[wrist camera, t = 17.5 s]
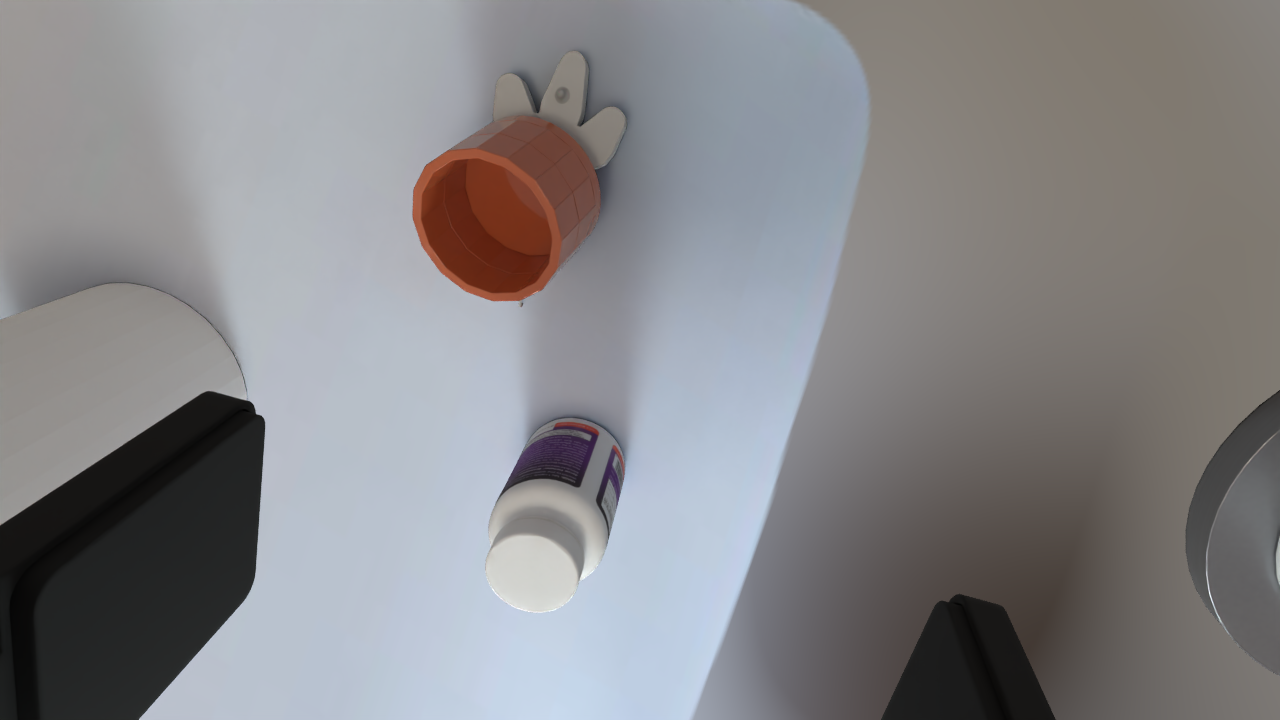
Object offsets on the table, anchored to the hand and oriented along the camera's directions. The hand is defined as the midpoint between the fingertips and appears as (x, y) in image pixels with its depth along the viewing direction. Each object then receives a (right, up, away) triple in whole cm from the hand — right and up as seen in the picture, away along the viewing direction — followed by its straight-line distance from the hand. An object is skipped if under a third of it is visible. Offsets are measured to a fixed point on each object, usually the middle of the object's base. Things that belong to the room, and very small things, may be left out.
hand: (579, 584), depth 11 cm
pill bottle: (-2, -2, +32) cm, 32 cm away
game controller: (-4, +11, +27) cm, 29 cm away
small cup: (-4, +10, +25) cm, 27 cm away
